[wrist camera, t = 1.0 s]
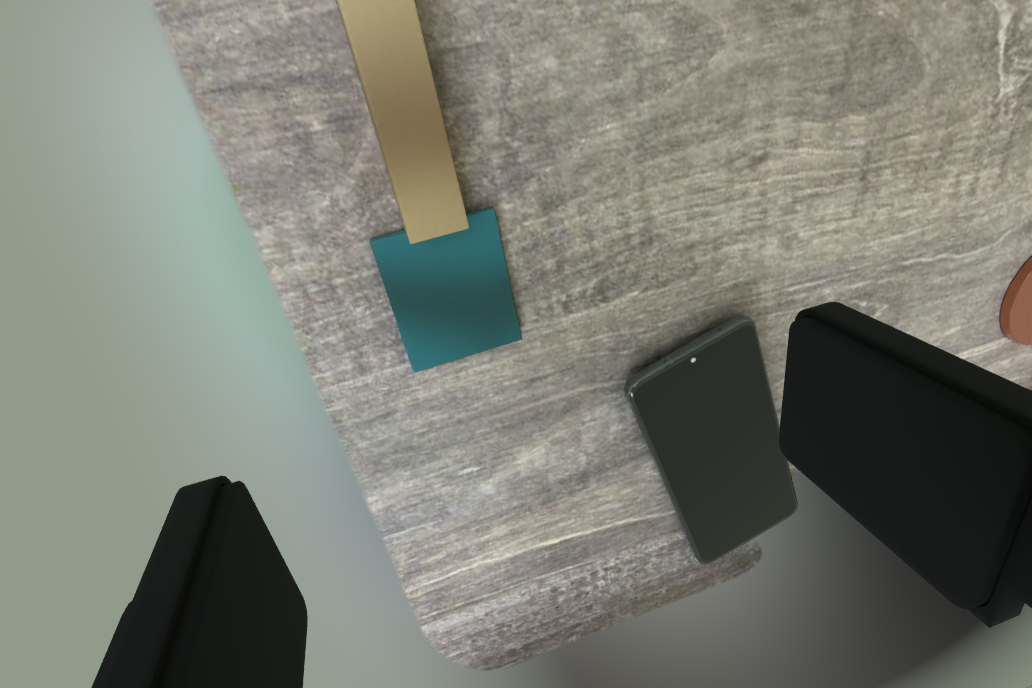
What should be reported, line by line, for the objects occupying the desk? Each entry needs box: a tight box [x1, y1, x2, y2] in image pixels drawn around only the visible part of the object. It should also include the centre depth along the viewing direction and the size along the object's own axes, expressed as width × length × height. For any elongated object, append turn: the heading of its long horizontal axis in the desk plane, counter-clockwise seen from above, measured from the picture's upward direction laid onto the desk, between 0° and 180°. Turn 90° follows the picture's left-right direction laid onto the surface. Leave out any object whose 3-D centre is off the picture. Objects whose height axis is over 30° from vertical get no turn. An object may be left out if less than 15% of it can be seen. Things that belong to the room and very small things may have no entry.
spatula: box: [336, 0, 522, 372], centre depth 20 cm, size 15×5×2 cm, turn 11°
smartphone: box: [624, 315, 798, 564], centre depth 31 cm, size 7×1×16 cm
